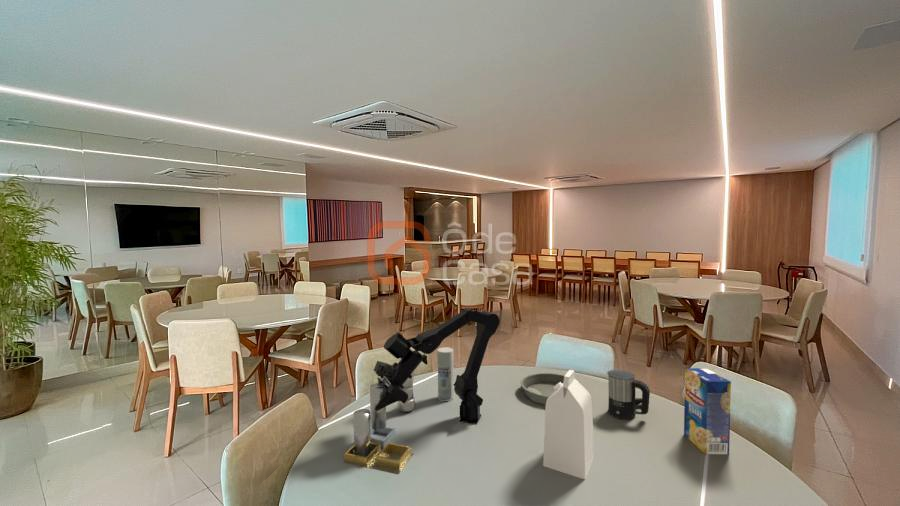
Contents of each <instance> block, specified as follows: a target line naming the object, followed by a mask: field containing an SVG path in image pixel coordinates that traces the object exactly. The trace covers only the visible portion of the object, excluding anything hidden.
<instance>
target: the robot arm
mask: <svg viewBox="0 0 900 506" xmlns="http://www.w3.org/2000/svg"><path fill="white" fill-rule="evenodd" d="M471 322H473V323H476V324H475V327H476V328H475V329H476V335H475V338H474V342H473V343H472V347H471V351H470V354H469V357H468V359H467V363H466V366H465V369H464V372H463V373H462V374H461V375H459V374H457V375H456V378H455V382H454V393H455V395H457V396H458V398H459V399H460V400H461V401H460V405H459V422H462V423H467V424H468V423H469V424H473V425H477V424H478V423H479V421H480V419H482V418H481V417H482V414H481V406H482V405H483V402H484V399H483V398H482V397H481V396H479V394H478V388H479V386H478V385H479V384H478V383H479V381H478V375H479V372H480V368H481V366H482V362H483V360H484V357H485V354H486V350H487V347H488V345H489V342H490V338H492V336H493V335H495V333H496V332H497V329H498V328H499V325H500V323H501V319H500V317H499V315H498V314H496V313H494V312H491V311H488V310H482V311H477V310H474V309H471V308H469V307H466V308H464V309H462V310H461V311H460V312H459V313H457V314H455V315H454V316H453V317H451V318H449V319H448V320H446V321H445V322H443V323H442V324H440V325H438V326H437V327H435V328H432V329H428V330H425V331H423V332H421V333H418V334H417V335H416V336H415V337H410V338H407V339H406V338H405V337H404V336H403V334H401V333H400V332H399V331H397V332H396V333H395V334H392V335H391V336H390V337H388V339H387V340H386V341H385V342H384V345H383V349H384V350H385V351H387V352H388V353H389V354H390V355H392V356H393V357H394V358H395V359H398V360H399V359H400V358H401V360H399V361H398V362H397V361H396V362H393V363H392V364H389V363H387V362H383V361H381V360H380V361H379V360H376V362H375V366H374V368H373V372H374V373H375V374H376V376H377V383H383V384H385V387H384V395H383V396H382V398H381V399H380V401H379V402H378V404H377V405H376V407H375V410H376V411H378V410H380V409H382V408H384V407H386V408H387V407H388V406H390V405H392V404H394V403H398V402H399V401H401V402H402V403H404V404H405V402H406V401H407V400H408V394H407V393H406V391H405V390H403V388H404V386H403V384H404V383H405V382H406V380H407V379H408V378H410V379H411V378H412V376H411V374H412V373H413V371H414V372H415V370H416V369H417V368H418V366H419V365H420V364H421V363H423V364H424V365H428V356H427V355H430V354H432V353H433V352H434V351H436V350H438V349H439V347H440V345H441V344H442V342H443V341H444V340H445V339H446V338H448V337H449V336H451V335H453V334H454V333H456V332H458V330H460V329H462V328H463V327H465V326H466V325H467V324H469V323H471ZM411 348H412V349H413V350H412V349H411ZM420 352H421V353H420Z"/></svg>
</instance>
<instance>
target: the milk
mask: <svg viewBox="0 0 900 506" xmlns="http://www.w3.org/2000/svg"><path fill="white" fill-rule="evenodd" d="M575 375H576V373H575V370H573V369H569V370H568V371H566V373H565V375H564V382H563V383H561V382H559V383H558V384H557V385H556V386H555V387H554V389H555V390H554V391H553V393H552V394H551V395H550V396H549V398H548V399H547V402H546V405H545V407H544V408H545V411H544V413H545V415H544V416H545V417H544V437H543V438H544V439H543V460H542V461H543V463H542V466H543V467H545V468H548V469H551V470H554V471H557V472H560V473H564V474H566V475H568V476H573V477H575V478H579V479H582V480H586V478H587V476H588V473H589V471H590V468H591V466H592V464H593V461H594V459H595V447H594V446H595V445H594V444H595V443H594V442H595V441H594V424H593V422H594V420H593V403H592V402H593V401H592V396H591V394H590V393H589V391H588V390H587V389H586V388H585V387H584V386H583V385H582V384H581V382H580V381H578V380H577V379H576V376H575Z"/></svg>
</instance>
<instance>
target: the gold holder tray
mask: <svg viewBox="0 0 900 506" xmlns="http://www.w3.org/2000/svg"><path fill="white" fill-rule="evenodd" d="M413 455H414V453H413V452H412V446H407V445H404V444H403V445H401V444H396V443H391V442H388V443H387V444H386V445H385V447H381V446H380V444H376V443H371V453H370V454H369V455H368V456H367V457H363V456H358V455H354V444H353V445H352V446H350V448H349V449H348V450H347V451H346V452H345V453H344V454H343V459H344V460H343V461H342V463H344V464H350V465H353V466H359V467H363V468H366V469H367V468H368V469H372V470H376V471H380V472H385V473H389V474H394V475H399V474H400V473H401V472H402V470H403V468H405V466H406V465H407V464H408V462H410V459H411V458H412V457H413Z"/></svg>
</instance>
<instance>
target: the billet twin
mask: <svg viewBox="0 0 900 506" xmlns="http://www.w3.org/2000/svg"><path fill="white" fill-rule="evenodd" d="M352 417H353V418H352V419H353V445H354V455H358V456H363V457H367V456H368V455H369V454H370V453H371V438H372V435H371V410H369V409H368V408H367V409H366V408H361V409H356V410H355V411H354V412H353V415H352Z"/></svg>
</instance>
